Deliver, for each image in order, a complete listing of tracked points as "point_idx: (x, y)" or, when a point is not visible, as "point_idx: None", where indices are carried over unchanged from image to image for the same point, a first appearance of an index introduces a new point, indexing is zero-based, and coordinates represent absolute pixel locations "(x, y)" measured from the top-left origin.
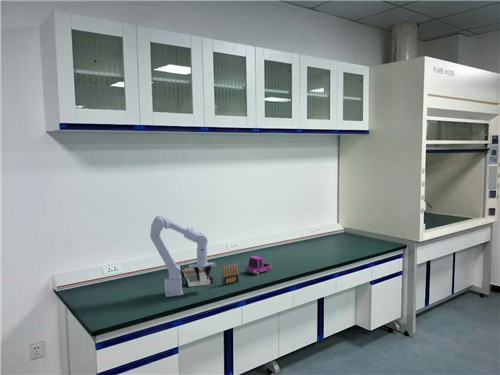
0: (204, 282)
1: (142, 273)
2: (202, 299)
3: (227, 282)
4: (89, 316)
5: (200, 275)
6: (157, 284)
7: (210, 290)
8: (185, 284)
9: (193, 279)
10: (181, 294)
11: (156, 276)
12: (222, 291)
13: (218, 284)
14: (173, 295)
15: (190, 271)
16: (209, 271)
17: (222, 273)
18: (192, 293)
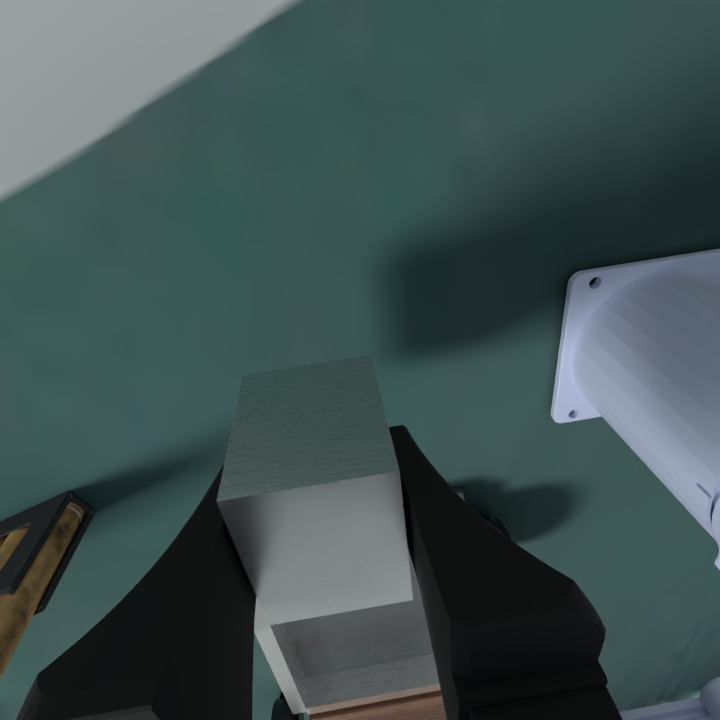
0: (287, 386)
1: (699, 696)
2: (328, 16)
3: (8, 538)
4: None
5: (377, 495)
6: (696, 554)
7: (217, 380)
8: (494, 521)
9: (394, 622)
10: (602, 269)
11: (640, 665)
12: (36, 326)
13: (141, 529)
14: (702, 254)
15: (419, 716)
16: (119, 610)
17: (4, 658)
18: (449, 314)
